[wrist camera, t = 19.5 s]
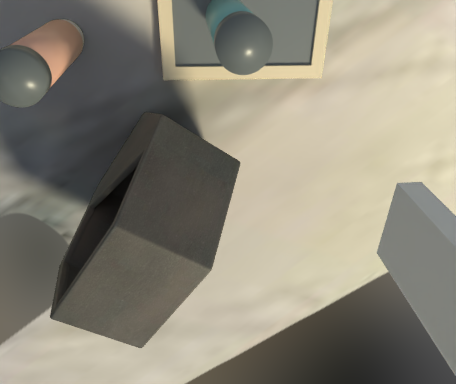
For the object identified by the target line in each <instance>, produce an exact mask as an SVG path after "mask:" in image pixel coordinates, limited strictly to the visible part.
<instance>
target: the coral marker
mask: <svg viewBox="0 0 456 384" xmlns="http://www.w3.org/2000/svg"><path fill="white" fill-rule="evenodd" d="M83 45H84V36H83V33H82V31H81V29H80V28H79V26H78V25H77V24H75V23H74V22H72V21H70V20H66V19H60V20H59V19H57V20H52V21H50V22H48V23H46V24H44V25H43V26H41V27H39V28H38V29H36V30H34V31H33V32H31V33H29V34H28V35H26V36H24V37H23V38H21V39H19V40H18V41H16V42H14V43H13V44H11V45H9V46H6V47H4V48H2V49H1V50H0V101H2V102H3V103H5V104H8V105H10V106H14V107H22V108H23V107H30V106H32V105H34V104H36V103H37V102H39V101H40V100H41V98H42V97H43V96H44V95H45V94H46V93H47V92H48V90H49V89H50V87H51V86H52V85H53V84H54V83H55V82H56V81H57V79H58V78H59V77H60V76H61V75H62V74H63V73H64V72H65V71H66V69H67V68H68V67H69V66H70V65H71V64H72V63H73V62H74V61H75V59H76V58H77V57H78V56H79V55H80V54H81V52H82V49H83Z"/></svg>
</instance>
